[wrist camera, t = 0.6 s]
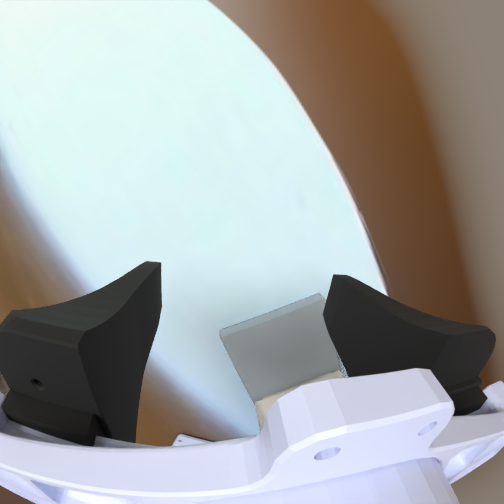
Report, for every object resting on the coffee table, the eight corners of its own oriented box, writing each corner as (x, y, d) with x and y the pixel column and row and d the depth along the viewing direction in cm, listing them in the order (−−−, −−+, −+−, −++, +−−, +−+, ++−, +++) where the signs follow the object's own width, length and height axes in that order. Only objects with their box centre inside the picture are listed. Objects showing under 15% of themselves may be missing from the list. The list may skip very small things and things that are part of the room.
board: (354, 451, 33) (361, 464, 30) (296, 474, 33) (300, 487, 30) (318, 292, 25) (329, 306, 22) (219, 330, 24) (220, 347, 22)
